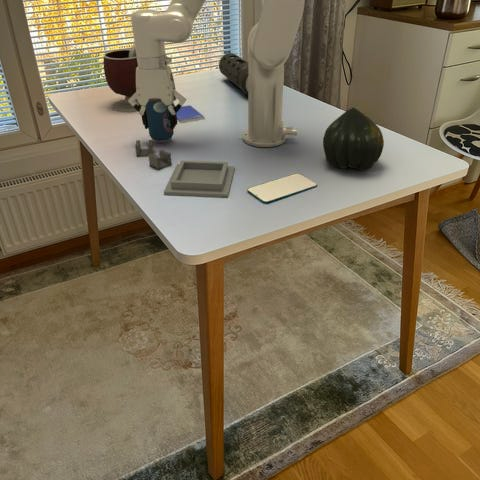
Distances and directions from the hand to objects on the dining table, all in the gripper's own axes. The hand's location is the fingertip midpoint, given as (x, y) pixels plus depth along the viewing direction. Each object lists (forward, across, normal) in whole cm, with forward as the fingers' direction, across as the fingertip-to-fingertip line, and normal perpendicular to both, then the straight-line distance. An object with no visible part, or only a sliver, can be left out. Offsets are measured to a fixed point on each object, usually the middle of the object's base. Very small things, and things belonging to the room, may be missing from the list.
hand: (160, 126), depth 136 cm
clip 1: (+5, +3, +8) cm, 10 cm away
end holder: (+5, -15, +23) cm, 28 cm away
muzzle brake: (+6, -18, -53) cm, 56 cm away
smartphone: (+6, -35, +25) cm, 44 cm away
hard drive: (+6, -2, -23) cm, 24 cm away
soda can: (+4, 0, 0) cm, 4 cm away
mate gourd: (+5, +18, -31) cm, 36 cm away
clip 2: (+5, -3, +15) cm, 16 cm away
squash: (+6, -52, +10) cm, 53 cm away
